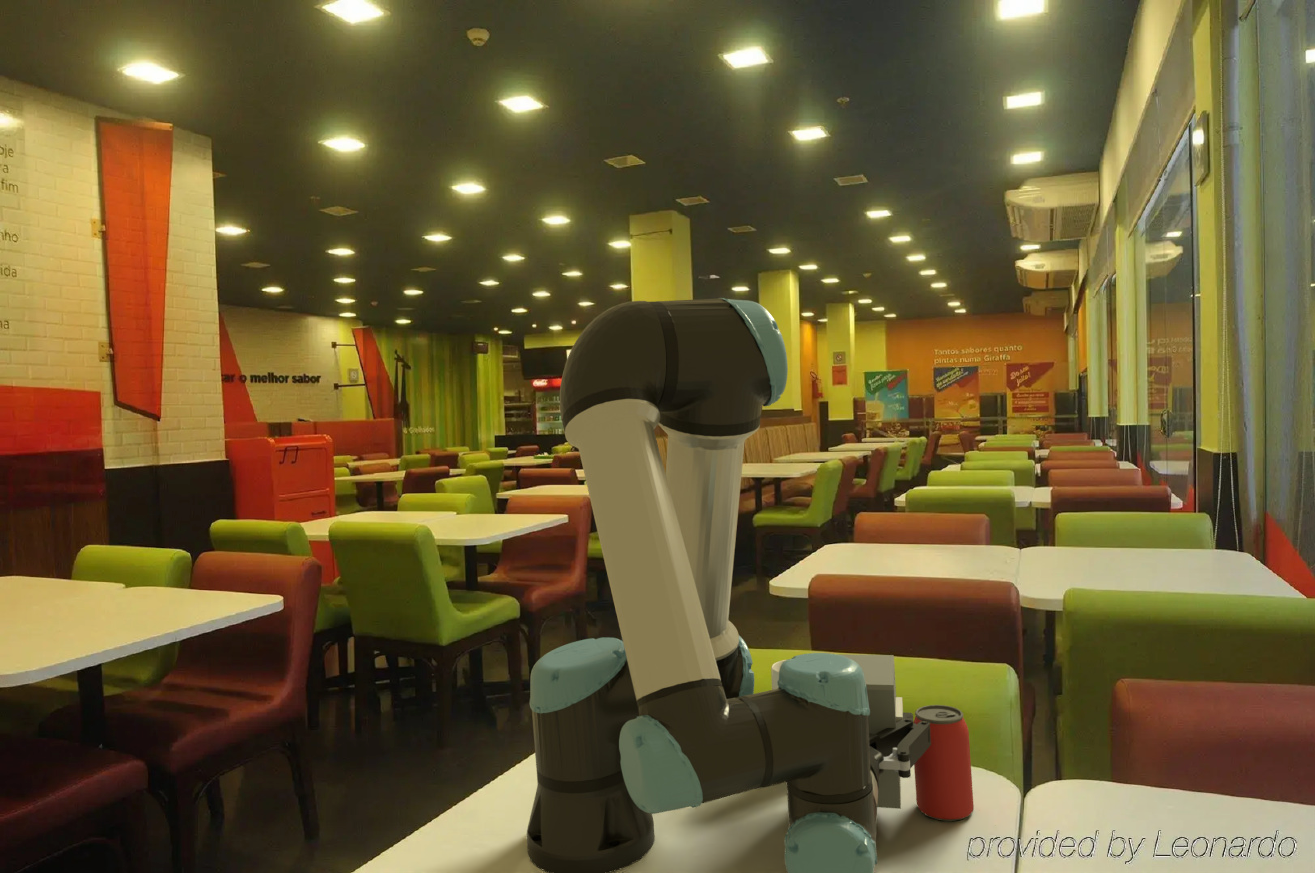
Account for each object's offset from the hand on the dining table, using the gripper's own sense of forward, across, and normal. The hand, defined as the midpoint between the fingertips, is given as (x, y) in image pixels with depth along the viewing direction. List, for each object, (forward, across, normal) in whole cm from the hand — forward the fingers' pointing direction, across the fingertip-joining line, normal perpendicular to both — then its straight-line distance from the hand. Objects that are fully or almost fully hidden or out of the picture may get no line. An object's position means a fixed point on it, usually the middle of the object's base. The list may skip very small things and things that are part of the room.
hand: (850, 706), depth 106 cm
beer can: (0, +10, -13) cm, 16 cm away
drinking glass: (+8, -8, -13) cm, 17 cm away
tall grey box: (-4, 0, -8) cm, 9 cm away
